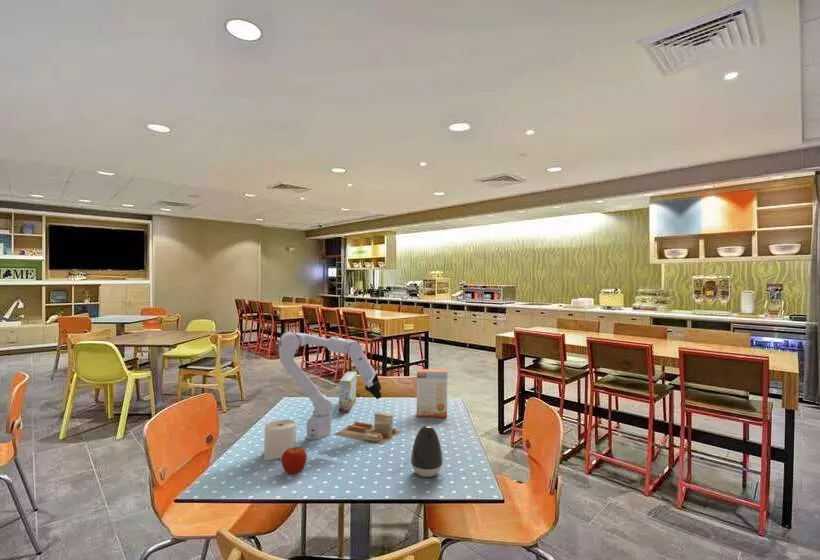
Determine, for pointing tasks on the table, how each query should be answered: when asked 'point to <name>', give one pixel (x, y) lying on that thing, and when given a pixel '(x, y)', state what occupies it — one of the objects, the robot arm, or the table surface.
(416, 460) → the dark grey egg shape
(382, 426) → the birch board
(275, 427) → the toilet tissue
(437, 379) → the cracker box
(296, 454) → the apple
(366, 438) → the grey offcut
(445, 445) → the table surface
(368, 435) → the oak offcut
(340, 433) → the rack
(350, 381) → the snack box
